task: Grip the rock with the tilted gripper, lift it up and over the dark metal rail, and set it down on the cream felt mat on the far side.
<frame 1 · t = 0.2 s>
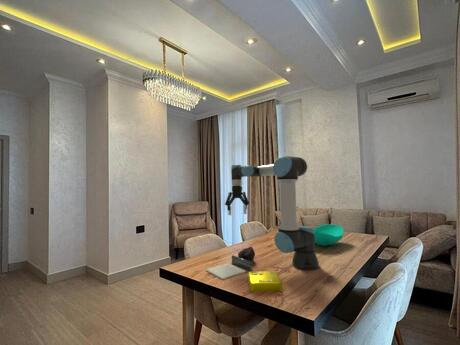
hand: (237, 214, 171), 27 cm above the table, tool pointing down, fingers open, 13 cm apart
table top decor: (323, 244, 185), on the table
metal rail: (241, 267, 139), on the table
felt mat: (225, 271, 132), on the table
rock: (248, 261, 149), on the table
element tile: (264, 286, 114), on the table
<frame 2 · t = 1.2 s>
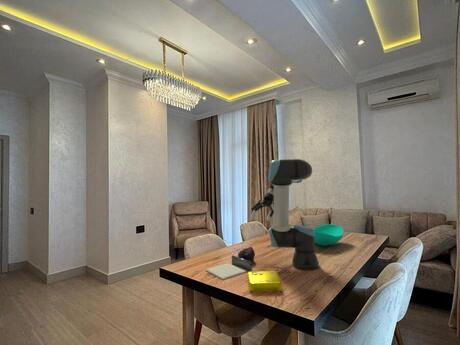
hand: (259, 219, 159), 25 cm above the table, tool tilted 45°, fingers open, 13 cm apart
nothing on the table moved.
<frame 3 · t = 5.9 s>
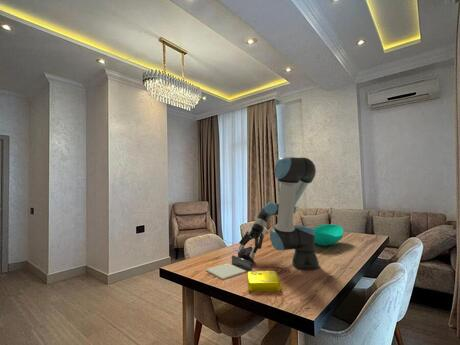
hand: (244, 255, 147), 4 cm above the table, tool tilted 45°, fingers closed on rock, 9 cm apart
rock: (247, 261, 149), on the table, touching gripper
everything else where it was.
when the fingers open (5 cm above the table, at t = 11.6 s): rock stays where it is, resting on felt mat.
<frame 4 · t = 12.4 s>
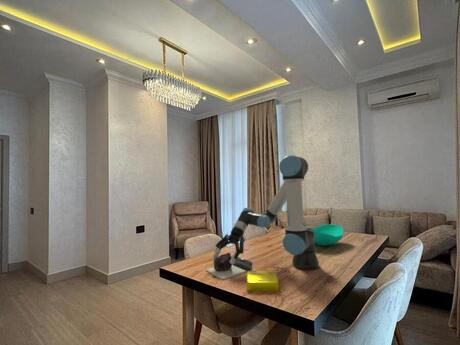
hand: (222, 261, 132), 6 cm above the table, tool tilted 45°, fingers open, 13 cm apart
rock: (225, 269, 133), point 1 cm above the table, touching felt mat
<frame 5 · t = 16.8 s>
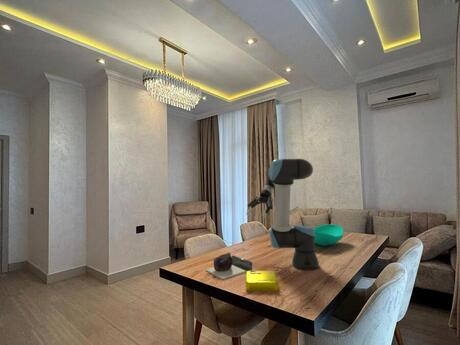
hand: (255, 215, 160), 28 cm above the table, tool tilted 45°, fingers open, 13 cm apart
at the end: rock inside the target area on the felt mat (0.8 cm from its centre), point 0.6 cm above the felt mat's base; the gripper is holding nothing; rock tilted 1° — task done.
